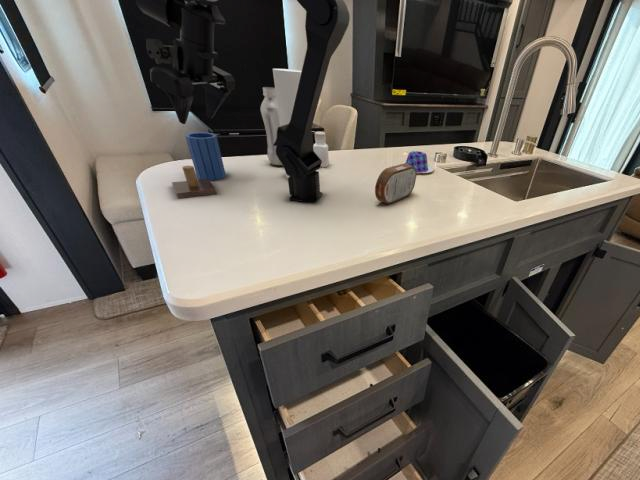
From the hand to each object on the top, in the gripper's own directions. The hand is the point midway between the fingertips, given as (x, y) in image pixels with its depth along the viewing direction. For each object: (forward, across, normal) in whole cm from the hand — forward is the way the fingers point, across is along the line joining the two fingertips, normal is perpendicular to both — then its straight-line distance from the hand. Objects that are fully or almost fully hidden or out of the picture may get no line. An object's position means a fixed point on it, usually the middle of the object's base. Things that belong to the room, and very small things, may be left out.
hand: (196, 120), depth 74 cm
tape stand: (+14, +7, +4) cm, 16 cm away
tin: (-1, -8, +49) cm, 50 cm away
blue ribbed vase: (+14, -4, +1) cm, 15 cm away
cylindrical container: (+8, -14, +20) cm, 26 cm away
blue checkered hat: (-1, -38, +50) cm, 63 cm away
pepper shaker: (+8, -27, +22) cm, 36 cm away
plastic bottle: (+12, -22, +11) cm, 27 cm away
